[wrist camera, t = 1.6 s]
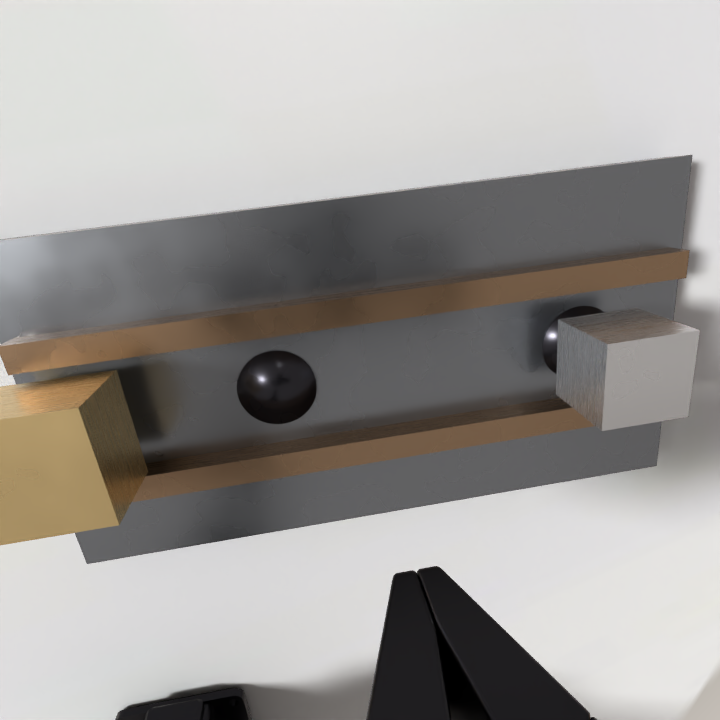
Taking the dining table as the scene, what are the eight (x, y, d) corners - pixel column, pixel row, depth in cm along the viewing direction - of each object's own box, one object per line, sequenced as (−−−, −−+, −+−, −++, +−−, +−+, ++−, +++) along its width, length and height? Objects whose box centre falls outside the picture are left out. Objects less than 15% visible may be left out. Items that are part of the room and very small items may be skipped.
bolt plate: (634, 448, 23) (672, 478, 21) (101, 539, 21) (76, 582, 19) (662, 157, 19) (714, 152, 16) (-10, 240, 17) (-60, 249, 15)
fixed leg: (608, 369, 20) (688, 416, 16) (538, 380, 20) (601, 431, 16) (613, 299, 19) (699, 330, 15) (540, 310, 19) (607, 344, 15)
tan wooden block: (154, 459, 18) (119, 525, 15) (45, 477, 18) (-17, 547, 14) (124, 361, 17) (78, 407, 13) (6, 379, 17) (-74, 430, 13)
